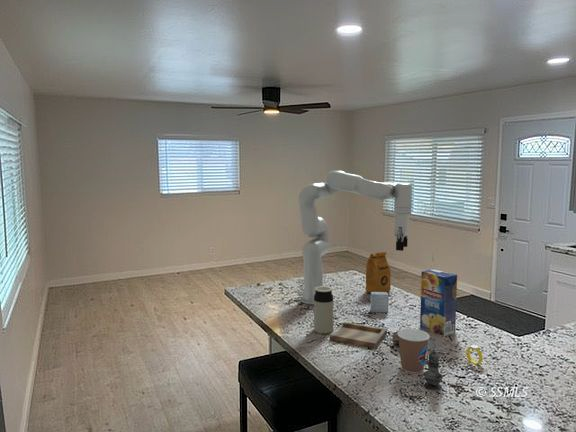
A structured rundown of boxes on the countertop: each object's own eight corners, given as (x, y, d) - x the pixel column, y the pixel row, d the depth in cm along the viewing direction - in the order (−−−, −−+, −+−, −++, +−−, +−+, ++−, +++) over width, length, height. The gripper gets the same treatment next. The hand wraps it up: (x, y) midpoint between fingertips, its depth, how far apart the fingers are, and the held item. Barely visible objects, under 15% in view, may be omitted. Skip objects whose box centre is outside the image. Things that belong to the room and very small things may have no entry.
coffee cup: (424, 378, 136) (425, 342, 135) (392, 371, 141) (393, 336, 140) (431, 366, 145) (432, 332, 143) (401, 359, 150) (402, 326, 149)
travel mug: (332, 334, 173) (332, 291, 171) (312, 333, 174) (312, 290, 172) (334, 327, 181) (334, 286, 179) (315, 326, 182) (315, 285, 180)
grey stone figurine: (419, 381, 134) (420, 345, 133) (437, 381, 135) (439, 344, 133) (427, 391, 128) (428, 353, 127) (446, 390, 129) (447, 352, 127)
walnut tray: (329, 339, 168) (329, 334, 167) (343, 326, 182) (343, 321, 181) (375, 348, 159) (375, 343, 159) (386, 333, 173) (386, 329, 173)
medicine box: (387, 309, 203) (387, 292, 202) (388, 312, 198) (388, 294, 197) (370, 309, 203) (370, 291, 202) (371, 312, 199) (371, 294, 198)
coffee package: (393, 292, 230) (393, 252, 227) (374, 296, 224) (375, 255, 222) (381, 288, 239) (381, 249, 236) (363, 291, 233) (363, 251, 231)
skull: (412, 338, 169) (413, 323, 168) (426, 345, 162) (426, 330, 161) (388, 343, 164) (388, 328, 163) (401, 351, 157) (401, 335, 156)
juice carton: (455, 332, 174) (457, 275, 172) (443, 336, 170) (445, 277, 168) (431, 323, 184) (433, 269, 182) (419, 326, 180) (421, 271, 178)
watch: (464, 360, 149) (464, 344, 149) (470, 359, 150) (470, 342, 150) (478, 366, 144) (477, 349, 143) (484, 365, 145) (484, 348, 144)
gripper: (397, 208, 199) (397, 244, 201) (390, 212, 184) (389, 251, 186) (414, 209, 196) (413, 245, 198) (407, 213, 181) (406, 252, 183)
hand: (401, 248), depth 192 cm, fingers open, 9 cm apart
